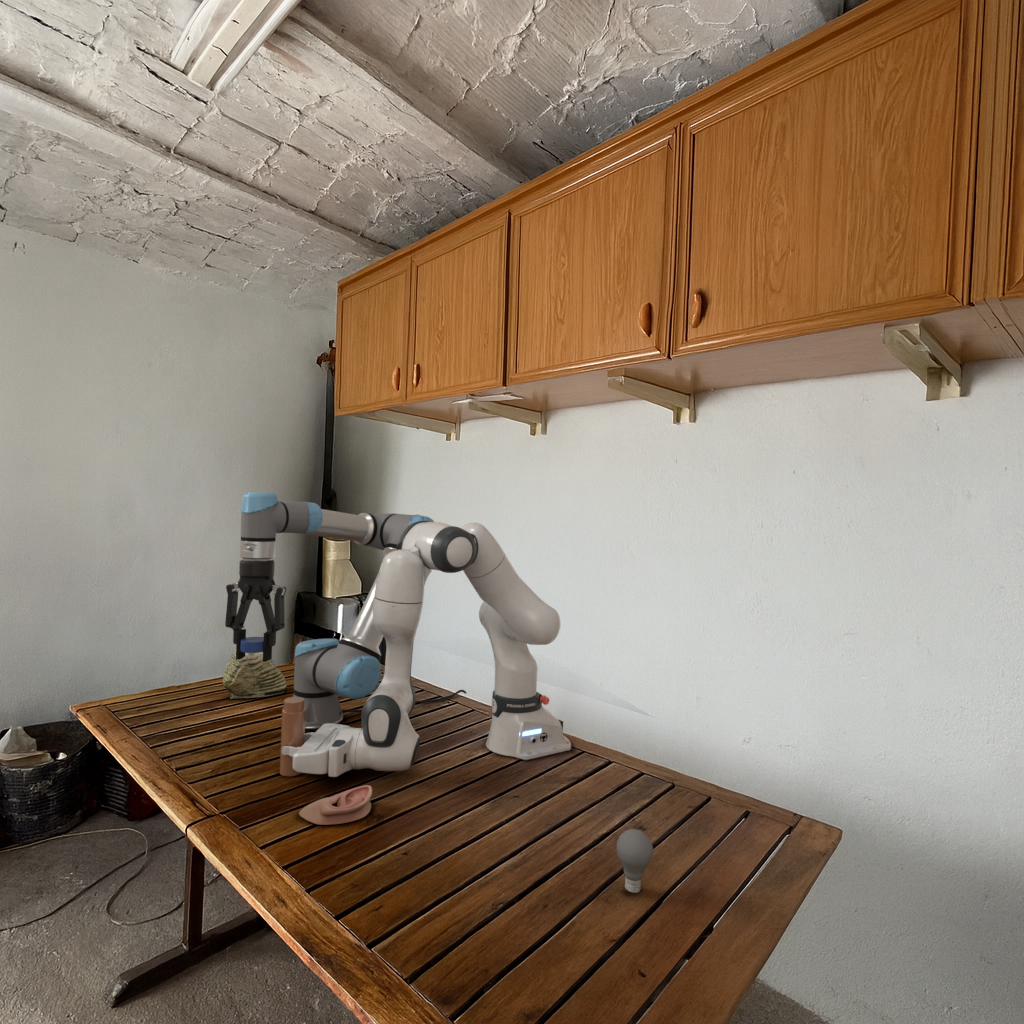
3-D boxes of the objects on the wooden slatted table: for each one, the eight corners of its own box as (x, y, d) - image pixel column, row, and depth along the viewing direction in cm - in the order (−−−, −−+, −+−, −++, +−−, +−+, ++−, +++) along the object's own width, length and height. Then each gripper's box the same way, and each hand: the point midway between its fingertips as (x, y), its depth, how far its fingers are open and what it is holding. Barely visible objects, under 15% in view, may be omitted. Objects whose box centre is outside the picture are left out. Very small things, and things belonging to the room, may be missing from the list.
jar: (275, 771, 145) (277, 699, 145) (295, 764, 149) (298, 694, 149) (287, 778, 142) (289, 704, 141) (307, 771, 145) (310, 700, 145)
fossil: (218, 695, 195) (220, 647, 195) (278, 685, 208) (279, 640, 207) (228, 703, 189) (230, 653, 188) (289, 692, 201) (290, 645, 201)
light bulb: (610, 879, 108) (613, 822, 108) (644, 879, 109) (647, 822, 109) (619, 902, 102) (622, 840, 102) (655, 901, 103) (658, 840, 103)
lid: (273, 650, 147) (273, 639, 147) (249, 654, 142) (250, 643, 142) (258, 645, 150) (258, 635, 150) (234, 650, 145) (235, 639, 145)
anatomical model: (291, 800, 123) (320, 775, 134) (290, 820, 123) (320, 794, 134) (354, 810, 120) (379, 784, 132) (353, 830, 121) (378, 803, 132)
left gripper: (209, 558, 143) (205, 660, 143) (288, 562, 141) (285, 666, 141) (228, 555, 150) (224, 652, 151) (303, 559, 148) (299, 658, 149)
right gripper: (361, 718, 155) (306, 715, 155) (334, 751, 134) (270, 747, 135) (360, 744, 155) (305, 740, 156) (332, 780, 134) (269, 776, 135)
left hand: (253, 659), depth 146 cm, fingers closed on lid, 6 cm apart
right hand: (288, 744), depth 145 cm, fingers closed on jar, 5 cm apart
